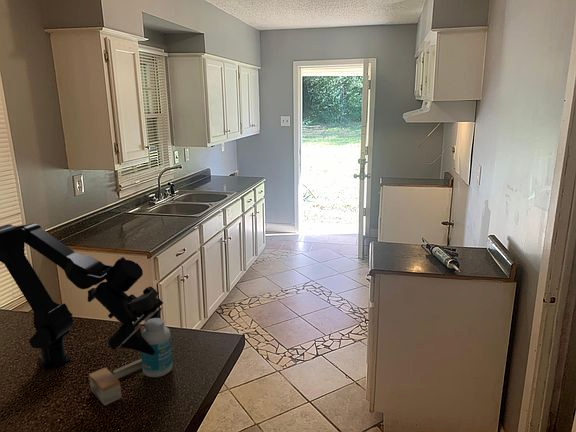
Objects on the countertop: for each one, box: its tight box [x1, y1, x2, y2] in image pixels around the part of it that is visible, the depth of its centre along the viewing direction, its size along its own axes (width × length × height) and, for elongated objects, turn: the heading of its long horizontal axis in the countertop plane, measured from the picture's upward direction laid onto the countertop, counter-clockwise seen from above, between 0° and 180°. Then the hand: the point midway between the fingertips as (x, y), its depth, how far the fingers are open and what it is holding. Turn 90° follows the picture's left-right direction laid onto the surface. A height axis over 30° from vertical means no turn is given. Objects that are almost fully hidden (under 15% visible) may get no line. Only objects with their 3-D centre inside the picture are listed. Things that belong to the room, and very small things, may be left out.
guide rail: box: [112, 358, 142, 380], centre depth 114 cm, size 1×14×2 cm, turn 135°
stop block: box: [88, 366, 123, 406], centre depth 103 cm, size 8×4×4 cm, turn 45°
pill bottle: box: [140, 318, 173, 378], centre depth 110 cm, size 8×7×14 cm
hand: (161, 345), depth 110 cm, fingers closed on pill bottle, 7 cm apart
